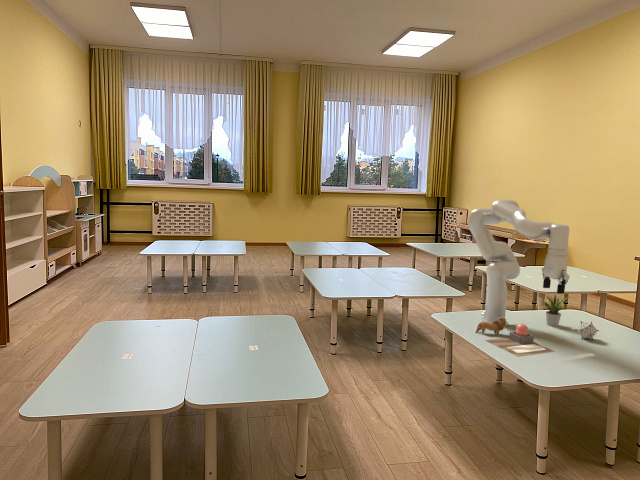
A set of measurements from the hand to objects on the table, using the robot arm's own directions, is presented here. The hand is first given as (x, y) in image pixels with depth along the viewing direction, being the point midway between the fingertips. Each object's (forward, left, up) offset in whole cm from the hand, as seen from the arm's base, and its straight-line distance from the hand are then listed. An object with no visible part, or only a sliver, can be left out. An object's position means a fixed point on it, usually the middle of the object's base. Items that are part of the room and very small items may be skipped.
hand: (553, 290), depth 210 cm
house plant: (-20, +25, -24) cm, 40 cm away
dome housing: (-3, -13, -23) cm, 26 cm away
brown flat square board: (+2, -19, -24) cm, 31 cm away
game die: (+1, +22, -24) cm, 32 cm away
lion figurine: (-15, -20, -24) cm, 34 cm away
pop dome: (-3, -13, -21) cm, 25 cm away
